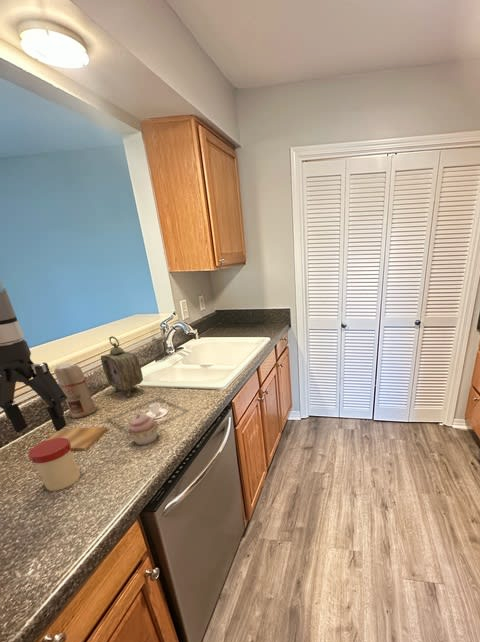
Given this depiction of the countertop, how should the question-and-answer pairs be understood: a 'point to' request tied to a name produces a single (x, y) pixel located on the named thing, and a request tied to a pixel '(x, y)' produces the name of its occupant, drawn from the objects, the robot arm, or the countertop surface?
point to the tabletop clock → (121, 368)
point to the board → (79, 436)
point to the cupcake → (143, 429)
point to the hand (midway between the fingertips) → (41, 428)
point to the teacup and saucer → (156, 411)
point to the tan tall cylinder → (75, 390)
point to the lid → (49, 450)
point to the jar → (59, 472)
